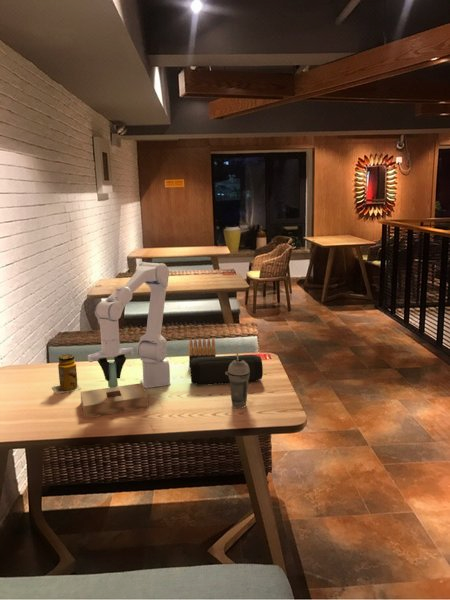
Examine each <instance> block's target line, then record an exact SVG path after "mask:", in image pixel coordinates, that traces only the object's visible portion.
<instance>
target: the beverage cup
mask: <svg viewBox="0 0 450 600" xmlns="http://www.w3.org/2000/svg"><path fill="white" fill-rule="evenodd" d="M235 348H236V355H237V360H234V361H233V362H232V363H231V364H230V365H229V368H228V376H229V380H230V384H229V390H230V398H231V404H232V405H231V406H232V407H233V408H234V407H236V408H235V409H243V408H242V407H244V406H246V407H247V399H248V389H249V382H248V379H249V376H250V370H249V366H248V364H247V363H246V362H245V361H243V360H240V359H239V358H238V355H239V347H238V345H236V346H235ZM244 408H245V407H244Z"/></svg>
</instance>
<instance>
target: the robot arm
mask: <svg viewBox="0 0 450 600" xmlns="http://www.w3.org/2000/svg"><path fill="white" fill-rule="evenodd" d="M169 276H170V270H169V268H168V266H167V265H166V264H165V263H164V262H163V263H162V262H161V263H156V262H145V261H141V262H140V263H139V264H138V265H137V266H136V267H135V272H134V274H133V275H132V276H131V277H130V278H129V280H128V281H127V282H126V283H125V285H124V286H123V285H122V286H120V285H119V286H117V287H116V288H115V290H114V291H113V292H112V293H111V294H110V295H109V296H108V297H107V299H105V300H102V301H100V302H99V303H97V305H96V306H95V311H94V315H95V317H96V318H97V324H99V329H100V343H101V345H100V346H101V350H100V351H97V352H95V353H90V354H87V361H88V362H89V363H93V362H95V361H97V362H98V364H99V366H100V367H101V370H102V372H103V375H104V379H105V381H107V382H108V381H109V361H108V359H111V358H113V361H116V367H117V380H119V379H121V374H122V370H123V368H124V365H125V363H126V360H127V358H126V356H127V355H134V354H135V351H134V348H133V347H132V346H130V347H122V348H121V345H120V344H121V342H120V327H119V319H120V318H121V316H122V313H123V311H124V308H126V306H127V305H128V304H129V302H130V301H131V300H132V299H133V294H134V292H136V290H138V289H139V288H140V287H141V286H142V285H144V284H145V285H147V286H148V288H149V289H150V295H149V296H150V297H149V298H150V299H149V305H148V313H147V323H146V331H145V333H144V334H143V335H141V336H140V337H139V341H138V344H137V347H136V355H137V356H138V357H139V358H140V361H142V362H141V363H142V379H140V382H141V385H142V386H143V388H144V389H149V388H150V389H151V388H157V387H163V386H170V385H172V384H171V375H170V374H171V373H170V372H171V371H170V370H171V369H170V363H169V360H168V358H166V357H167V354H168V348H167V344H168V343H167V342H168V341H167V339H166V338H165V337H164V336H163V335H162V327H163V320H164V311H165V301H166V295H167V287H168V283H169Z"/></svg>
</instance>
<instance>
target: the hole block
mask: <svg viewBox="0 0 450 600" xmlns="http://www.w3.org/2000/svg"><path fill="white" fill-rule="evenodd" d="M80 401H81V402H80V403H81V407H82V412H83V413H82V414H83V417H84V419H87V418H93V417H94V418H95V417H100V416H105V415H106V416H107V415H114V414H119V413H125V412H131V411H138V410H143V409H149V396H148V394H147V392H146V390H145V388H144V386H143V384H142V382H141V383H132V384H124V385H118V386H117V387H114V388H110V387H106V388H98V389H91V390H84V391H80Z"/></svg>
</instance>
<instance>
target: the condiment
mask: <svg viewBox="0 0 450 600" xmlns="http://www.w3.org/2000/svg"><path fill="white" fill-rule="evenodd" d="M57 368H58V369H57V370H58V379H59V385H57V386H56V385H54V386H51V389H52V390H53V391H54V392H55V394H57V395H60V394H63V393H64V394H65V393H68V392H69V393H70V392H73V391H78V390H81V389H82V388H81V387H80V386H79V385H78V384H79V383H78V375H77V374H78V372H77V363H76V359H75V356H74V354H70V353H69V354H67V353H66V354H61V355H60V356H59V357H58V366H57Z"/></svg>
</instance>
